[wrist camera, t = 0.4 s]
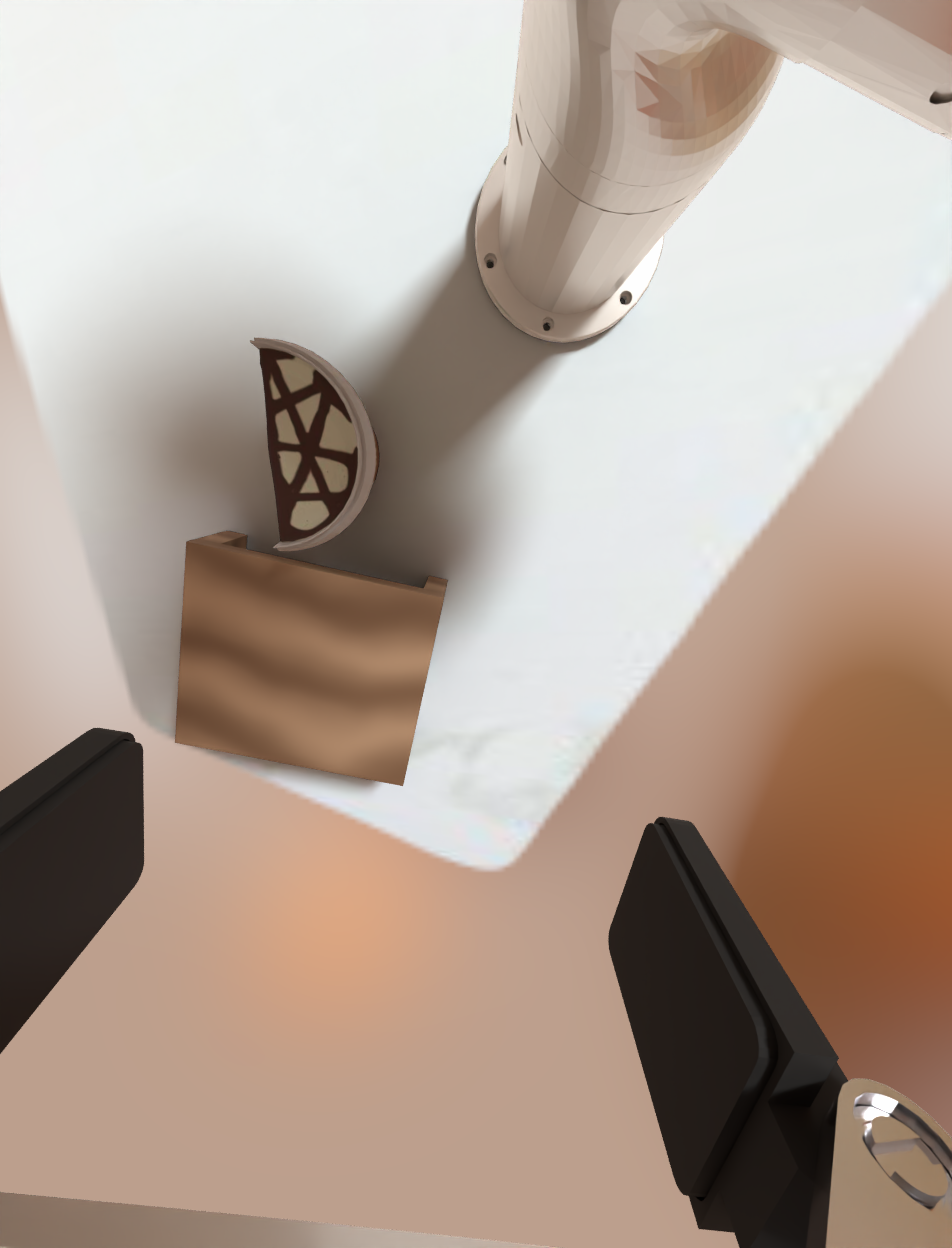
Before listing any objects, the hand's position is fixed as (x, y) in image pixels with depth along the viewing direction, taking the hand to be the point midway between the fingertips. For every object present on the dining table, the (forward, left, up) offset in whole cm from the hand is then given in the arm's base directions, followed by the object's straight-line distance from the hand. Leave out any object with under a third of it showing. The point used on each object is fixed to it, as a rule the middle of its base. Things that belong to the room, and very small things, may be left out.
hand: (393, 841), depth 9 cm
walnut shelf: (+10, -9, -33) cm, 36 cm away
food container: (-6, -9, -33) cm, 35 cm away
